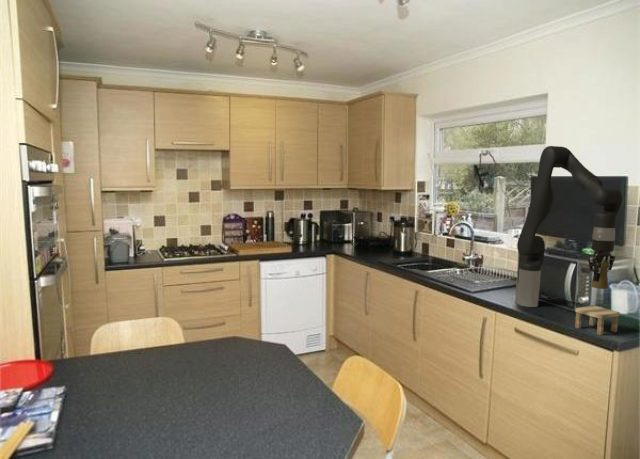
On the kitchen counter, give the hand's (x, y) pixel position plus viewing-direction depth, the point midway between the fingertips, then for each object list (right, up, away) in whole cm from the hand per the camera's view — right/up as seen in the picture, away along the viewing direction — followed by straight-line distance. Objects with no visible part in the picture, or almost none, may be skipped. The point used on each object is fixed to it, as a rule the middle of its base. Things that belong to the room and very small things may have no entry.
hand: (599, 281), depth 185 cm
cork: (0, -2, 0) cm, 3 cm away
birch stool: (0, -20, +2) cm, 20 cm away
